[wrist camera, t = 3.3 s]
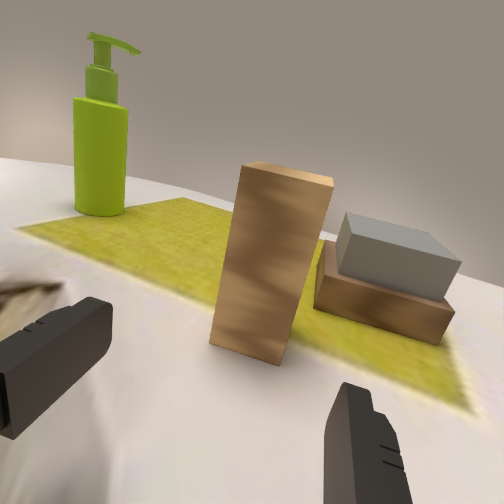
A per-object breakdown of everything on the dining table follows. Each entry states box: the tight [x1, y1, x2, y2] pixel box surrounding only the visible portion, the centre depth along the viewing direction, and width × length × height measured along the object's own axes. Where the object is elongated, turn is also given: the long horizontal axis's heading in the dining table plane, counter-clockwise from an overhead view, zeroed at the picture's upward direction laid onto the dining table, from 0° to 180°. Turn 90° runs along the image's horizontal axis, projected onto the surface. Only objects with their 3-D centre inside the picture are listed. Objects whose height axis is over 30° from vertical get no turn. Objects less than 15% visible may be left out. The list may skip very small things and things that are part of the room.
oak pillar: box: [209, 161, 334, 366], centre depth 20 cm, size 5×5×12 cm
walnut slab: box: [313, 240, 455, 346], centre depth 31 cm, size 11×11×4 cm
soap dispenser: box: [73, 32, 141, 216], centre depth 37 cm, size 6×7×20 cm
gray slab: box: [335, 212, 462, 303], centre depth 30 cm, size 9×9×4 cm
